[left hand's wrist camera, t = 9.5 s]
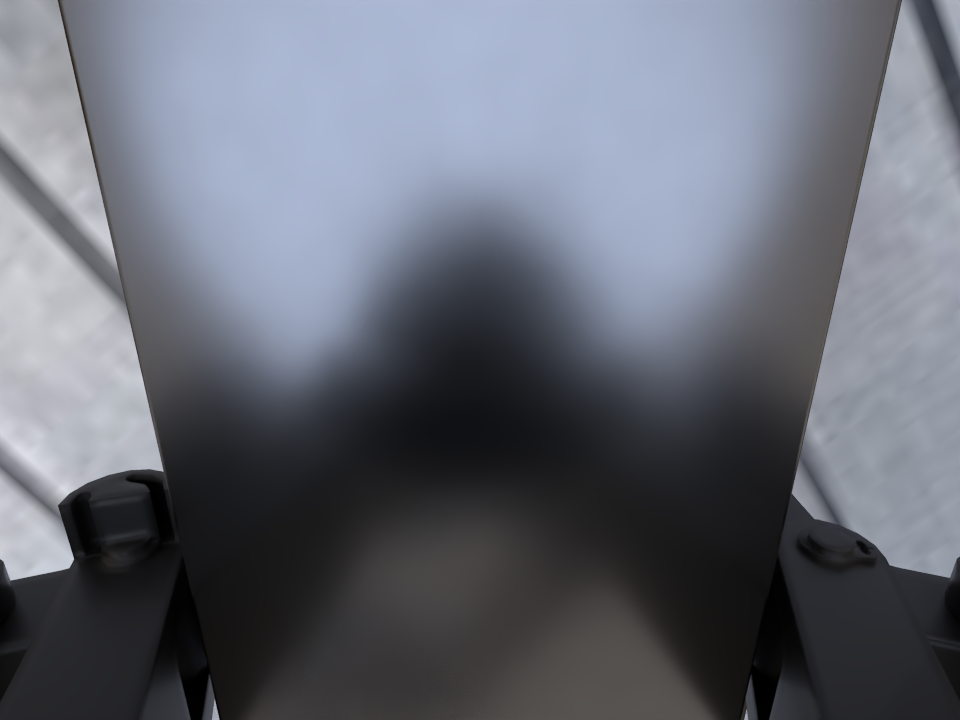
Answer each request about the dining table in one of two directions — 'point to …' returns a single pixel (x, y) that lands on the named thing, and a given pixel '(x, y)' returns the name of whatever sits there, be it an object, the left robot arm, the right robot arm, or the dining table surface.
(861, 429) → the dining table surface
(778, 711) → the left robot arm
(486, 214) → the bar
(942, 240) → the dining table surface
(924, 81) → the dining table surface
